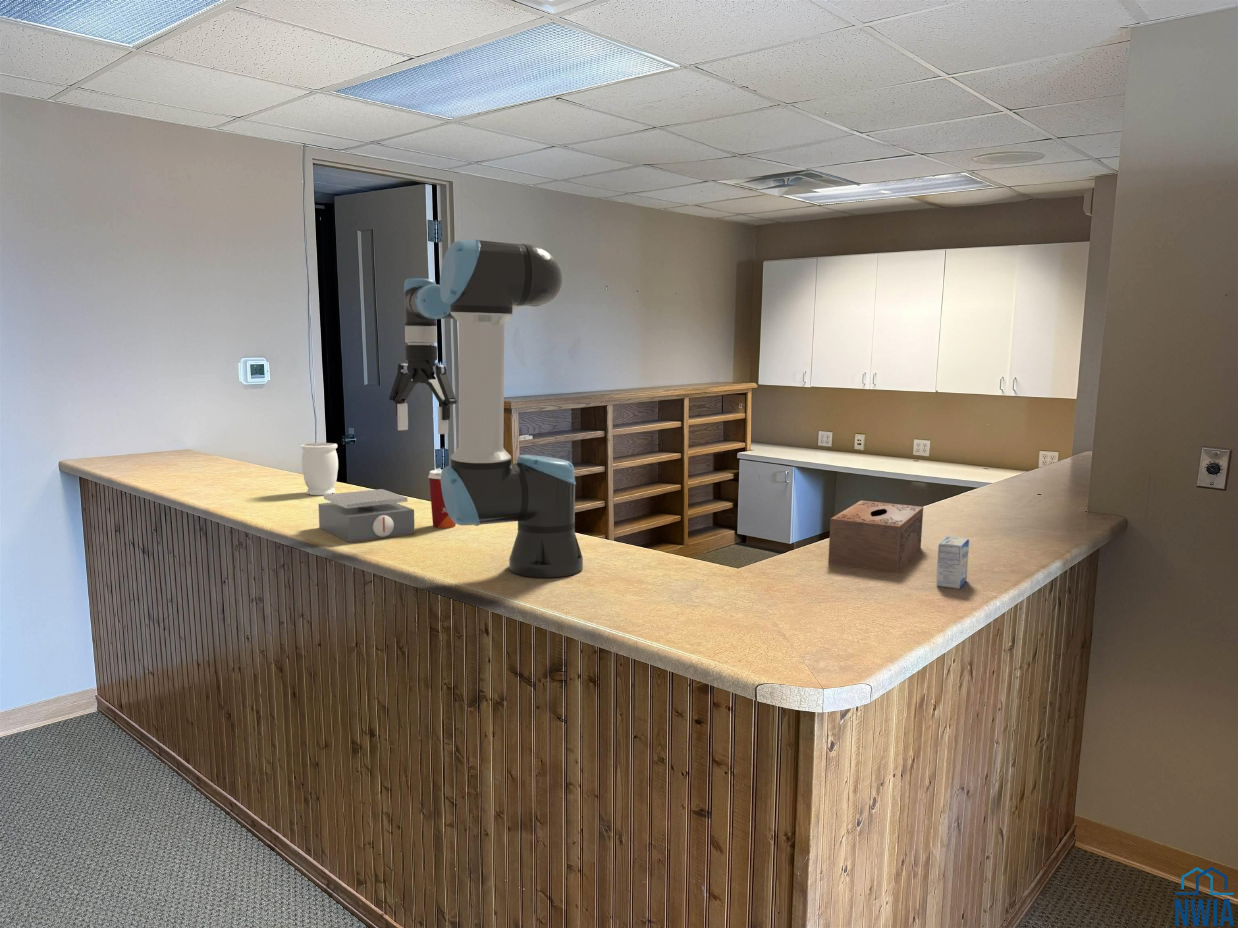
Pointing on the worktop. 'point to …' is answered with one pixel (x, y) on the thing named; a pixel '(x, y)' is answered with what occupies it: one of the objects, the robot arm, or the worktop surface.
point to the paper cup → (438, 502)
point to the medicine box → (952, 562)
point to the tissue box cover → (875, 535)
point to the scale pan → (365, 498)
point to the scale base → (366, 521)
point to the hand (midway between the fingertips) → (422, 431)
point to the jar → (320, 467)
